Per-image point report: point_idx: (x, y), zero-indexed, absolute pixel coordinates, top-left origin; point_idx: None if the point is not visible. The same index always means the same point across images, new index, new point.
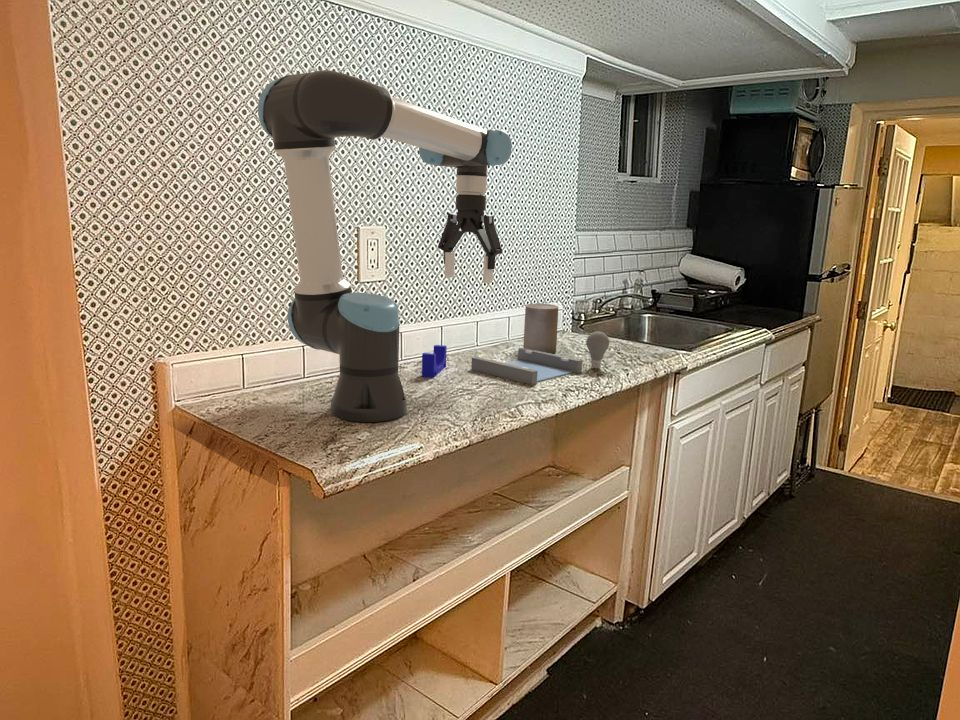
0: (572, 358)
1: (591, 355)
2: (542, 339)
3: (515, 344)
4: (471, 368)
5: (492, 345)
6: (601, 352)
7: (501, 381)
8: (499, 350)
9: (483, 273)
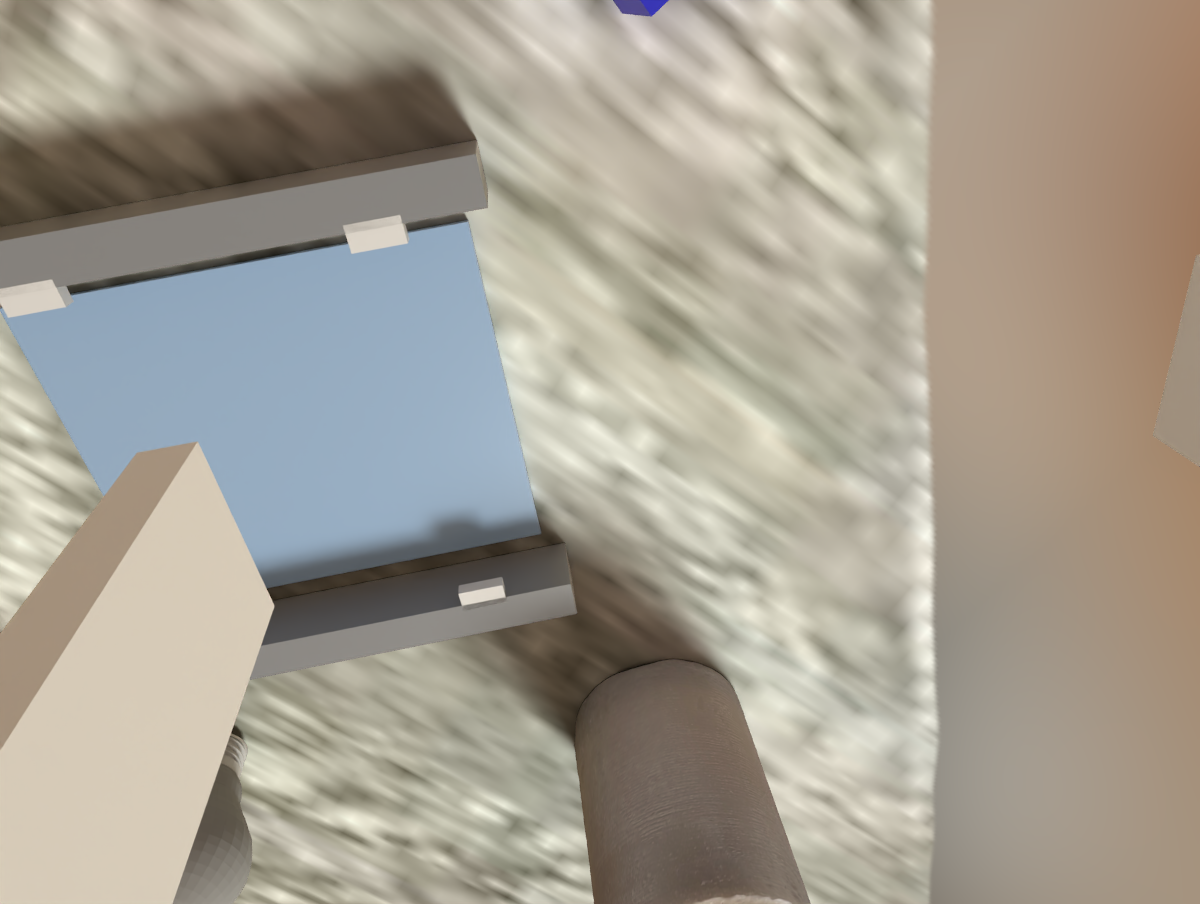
0: None
1: None
2: (600, 759)
3: (853, 714)
4: (475, 141)
5: (913, 616)
6: None
7: (89, 114)
8: (801, 584)
9: (119, 554)
